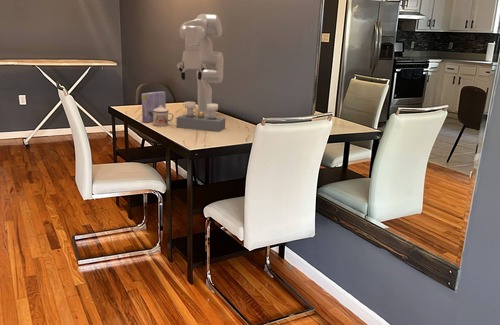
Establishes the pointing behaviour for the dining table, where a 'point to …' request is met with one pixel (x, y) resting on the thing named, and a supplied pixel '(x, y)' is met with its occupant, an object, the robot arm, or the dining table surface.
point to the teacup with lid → (161, 116)
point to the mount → (200, 123)
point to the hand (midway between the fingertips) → (191, 79)
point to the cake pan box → (152, 104)
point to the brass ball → (200, 114)
